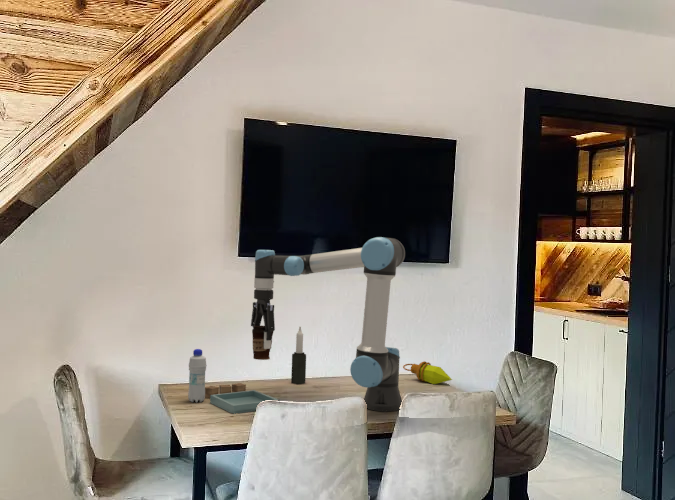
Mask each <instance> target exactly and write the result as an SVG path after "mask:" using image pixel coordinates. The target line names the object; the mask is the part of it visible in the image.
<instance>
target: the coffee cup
mask: <svg viewBox="0 0 675 500" xmlns="http://www.w3.org/2000/svg"><path fill="white" fill-rule="evenodd" d="M251 331H252V332H251V333H252V353H253V356H252V357H253V360H257V361H267V360H268V361H269V360H271V358H270V352H271V349H264V331H265V325H260V326H254V328H253V327H252V330H251ZM274 332H275V330H274V331H272V332H271V346H272V345H273V344H272V343H273V335H274Z"/></svg>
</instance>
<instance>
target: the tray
mask: <svg viewBox="0 0 675 500" xmlns="http://www.w3.org/2000/svg"><path fill="white" fill-rule="evenodd" d="M209 400H210V401H209V403H210V404H211V405H213V406H216V407H218V408H219V409H222V410H224V411H227V412H228V413H230V414H232V413H233V414H232V415H237V414H236V413H238V414H245V413H250V412H251V413H253V412H256V411H255V410H256V407H257V405H258V404H259V403H260V402H262V401H265V400H278V401H279V402H280V399H278V398H276V397H273V396H271V395H268V394H265V393H264V392H261V391H258V390H256V389H251V390H246V391H242V392H233V393H232V392H231V393H224V394H215V395H210V398H209ZM234 413H235V414H234Z"/></svg>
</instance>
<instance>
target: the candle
mask: <svg viewBox="0 0 675 500" xmlns="http://www.w3.org/2000/svg"><path fill="white" fill-rule="evenodd" d="M298 327H299V328H298V331H297V333H296V335H295V336H296V338H295V339H296V341H295V342H296V343H295V351H294V352H293V353H292V355H291V374H290V375H291V379H290V381H291V384H294V385H304V384H306V378H307V377H306V375H307V372H306V371H307V366H306V365H307V354H306V353H305V352H304V350H303V349H304V333H303V331H302V326H298Z"/></svg>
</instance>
